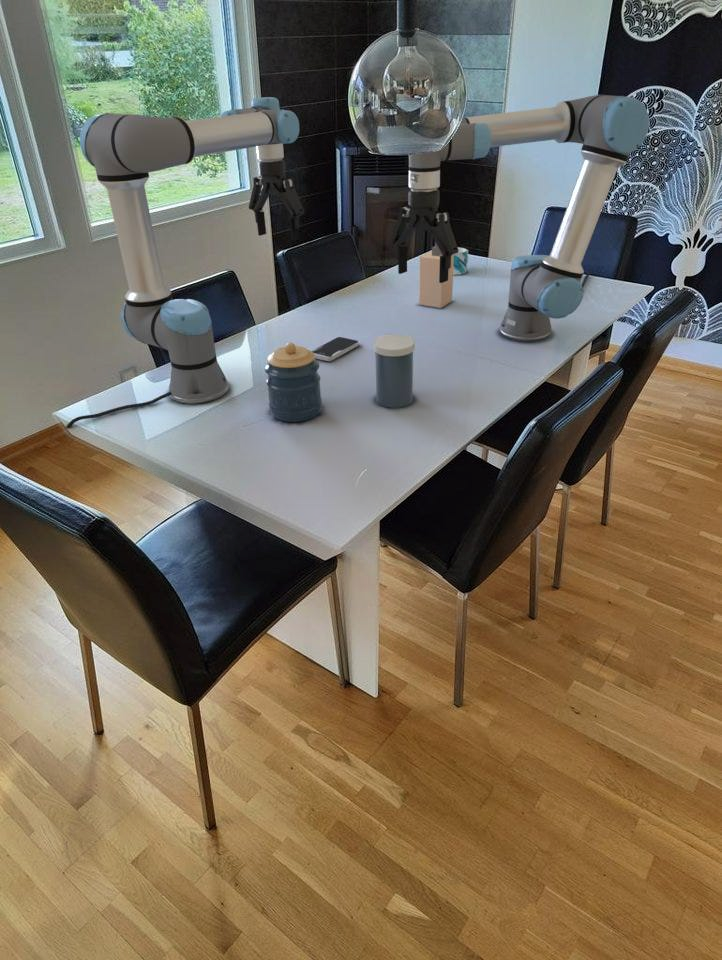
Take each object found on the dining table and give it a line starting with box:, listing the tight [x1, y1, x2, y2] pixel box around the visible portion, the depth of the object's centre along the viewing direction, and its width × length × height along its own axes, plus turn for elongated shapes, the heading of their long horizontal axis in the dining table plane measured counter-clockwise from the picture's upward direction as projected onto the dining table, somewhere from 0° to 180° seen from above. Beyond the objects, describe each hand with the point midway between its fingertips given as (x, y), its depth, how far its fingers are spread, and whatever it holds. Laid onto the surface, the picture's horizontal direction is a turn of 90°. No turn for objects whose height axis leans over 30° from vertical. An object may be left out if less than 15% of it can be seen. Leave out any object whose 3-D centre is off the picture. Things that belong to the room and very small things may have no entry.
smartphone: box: [311, 336, 359, 362], centre depth 198 cm, size 8×1×15 cm
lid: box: [373, 333, 416, 356], centre depth 162 cm, size 10×10×2 cm
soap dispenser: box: [418, 241, 454, 309], centre depth 227 cm, size 13×9×22 cm
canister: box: [264, 342, 323, 423], centre depth 161 cm, size 13×13×18 cm
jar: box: [374, 351, 414, 409], centre depth 166 cm, size 9×9×15 cm
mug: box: [453, 246, 469, 276], centre depth 261 cm, size 8×12×8 cm
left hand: (278, 237), depth 202 cm, fingers open, 13 cm apart
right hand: (422, 277), depth 174 cm, fingers open, 13 cm apart
